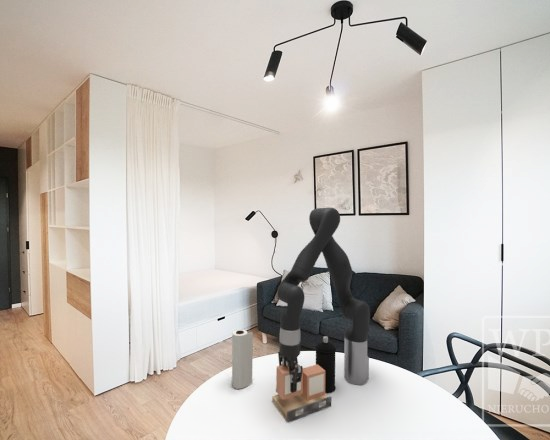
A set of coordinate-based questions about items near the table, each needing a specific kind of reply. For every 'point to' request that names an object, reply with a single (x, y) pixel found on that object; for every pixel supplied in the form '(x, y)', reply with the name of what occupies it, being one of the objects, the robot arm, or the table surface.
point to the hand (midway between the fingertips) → (289, 387)
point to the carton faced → (313, 382)
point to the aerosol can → (327, 362)
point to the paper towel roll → (242, 358)
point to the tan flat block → (300, 406)
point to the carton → (286, 383)
